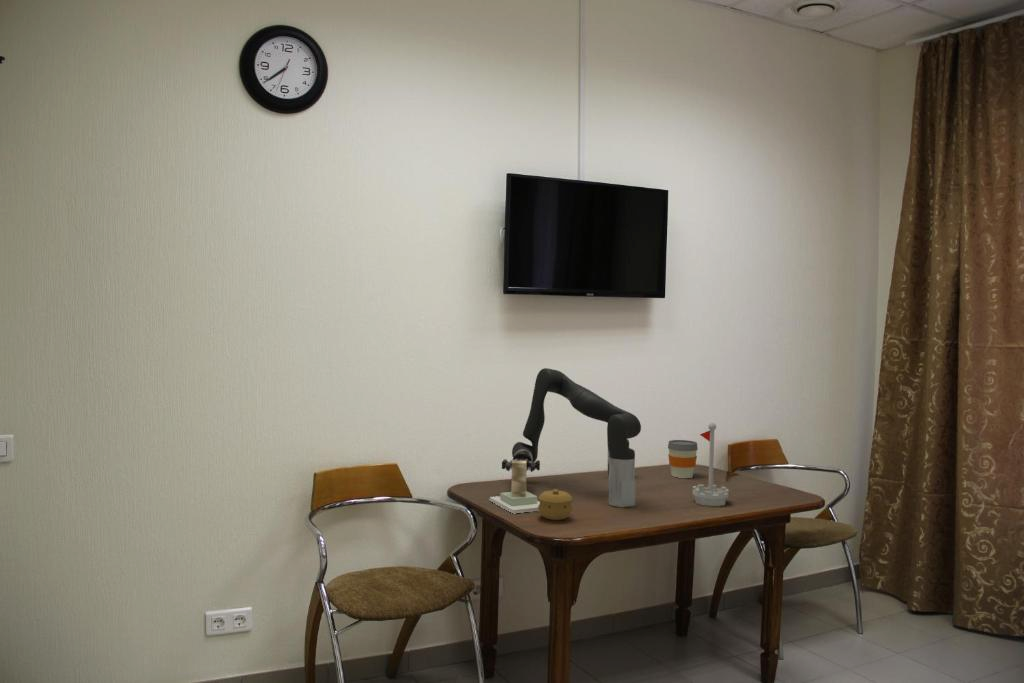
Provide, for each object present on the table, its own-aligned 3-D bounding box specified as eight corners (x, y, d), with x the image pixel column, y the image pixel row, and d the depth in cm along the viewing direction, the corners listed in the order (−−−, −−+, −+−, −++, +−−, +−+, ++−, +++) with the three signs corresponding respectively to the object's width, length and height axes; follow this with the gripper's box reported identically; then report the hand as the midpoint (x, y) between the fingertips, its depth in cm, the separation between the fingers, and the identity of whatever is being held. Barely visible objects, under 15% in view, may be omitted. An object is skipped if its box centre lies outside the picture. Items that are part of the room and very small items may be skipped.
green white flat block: (548, 510, 271) (549, 499, 271) (513, 514, 265) (513, 502, 265) (523, 497, 289) (523, 487, 289) (489, 501, 283) (489, 490, 283)
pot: (574, 523, 256) (575, 493, 255) (539, 523, 255) (540, 493, 254) (569, 513, 267) (570, 485, 267) (535, 514, 266) (536, 485, 266)
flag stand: (734, 502, 287) (737, 423, 286) (716, 508, 278) (719, 426, 277) (703, 496, 296) (706, 419, 295) (685, 502, 287) (687, 422, 286)
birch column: (526, 493, 279) (526, 460, 278) (525, 496, 274) (525, 463, 274) (512, 493, 279) (512, 460, 279) (511, 496, 274) (511, 462, 274)
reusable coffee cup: (663, 473, 338) (664, 439, 337) (691, 473, 339) (691, 439, 339) (672, 479, 325) (673, 444, 325) (701, 479, 327) (702, 444, 326)
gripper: (504, 450, 298) (500, 457, 282) (541, 451, 297) (539, 459, 281) (504, 469, 298) (500, 478, 282) (540, 470, 297) (539, 479, 281)
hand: (519, 468), depth 281 cm, fingers open, 8 cm apart
